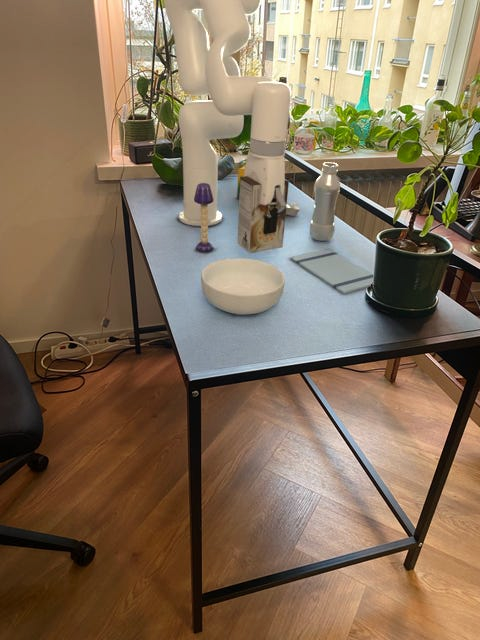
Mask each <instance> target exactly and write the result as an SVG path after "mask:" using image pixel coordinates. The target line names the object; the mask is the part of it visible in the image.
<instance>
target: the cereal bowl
mask: <svg viewBox="0 0 480 640" xmlns="http://www.w3.org/2000/svg"><path fill="white" fill-rule="evenodd" d="M285 281H286V278H285V275H284V274H283V272H282V271H281V270H280V269H279V268H277V266H274V265H273V264H270V263H268V262H265V261H261V260H258V259H252V258H226V259H225V258H224V259H220V260H215V261H213V262H210V263H209V264H208V265H206V266H205V267H204V268H203V269H202V271H201V276H200V284H201V285H200V286H201V290H202V293H203V295H204V296H205V298H206V300H207V301H208V302H210V304H211V305H212V306H214V307H215V308H217V309H219V310H221V311H224V312H227V313H229V314H233V315H237V316H247V315H252V314H253V315H254V314H259V313H263V312H265V311H268V310H270V309H271V308H273V307H274V306H275V305H277V303H278V302H279V301H280V299H281V297H282V296H283V294H284V288H285Z"/></svg>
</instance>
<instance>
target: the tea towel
mask: <svg viewBox="0 0 480 640" xmlns="http://www.w3.org/2000/svg"><path fill="white" fill-rule="evenodd" d="M290 260H292V261H293V262H294V263H297V264H298V265H299V266H301V267H302V268H304V269H305V270H307V272H309V273H311V274H313V276H316V277H317V278H319V279H320V280H322V281H324V282H325V283H327V285H329V286H331V287H332V288H334V289H335V290H336V291H338V292H340V293H341V294H343V295H344V294H347V293H351V292H355V291H358V290H362V289H366V288H370V287H372V286H371V284H372V281H373V275H374V273H371V272H369V271H368V270H366V269H364V268H362V267H361V266H359V265H357V264H356V263H354V262H352V261H350V260H348V259H347V258H345V257H343V256H342V255H340V254H338V253H337V252H335V251H334V250H332V249H329V248H325V249H322V250H317V251H312V252H308V253H302V254H298V255H293V256H290Z"/></svg>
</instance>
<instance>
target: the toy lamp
mask: <svg viewBox="0 0 480 640" xmlns="http://www.w3.org/2000/svg"><path fill="white" fill-rule="evenodd" d="M194 201H195V202H196V203H198V204H200V205H201V219H202V220H201V226H200V242H198V243H197V244H196V248H195V249H196V251H197V252H200V253H210V252H212V251H213V250H214V247H213V244H212V243H211V242H209V238H208V237H209V232H208V230H209V226H207V225H208V220H207V219H208V214H207V213H208V208H207V207H208V204H210V203H212V202H213V195H212V191H211V187H210V185H209V184H207V183H200V184H198V185H197V189H196V193H195V197H194Z"/></svg>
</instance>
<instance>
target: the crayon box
mask: <svg viewBox="0 0 480 640" xmlns="http://www.w3.org/2000/svg"><path fill="white" fill-rule="evenodd" d="M246 160H247V158H244V159H243V160H240V161H238V171H237V187H236V188H237V189H236V199H238V200H239V194H240V177H243V176H244V173H245V166H246ZM244 162H245V163H244Z"/></svg>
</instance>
